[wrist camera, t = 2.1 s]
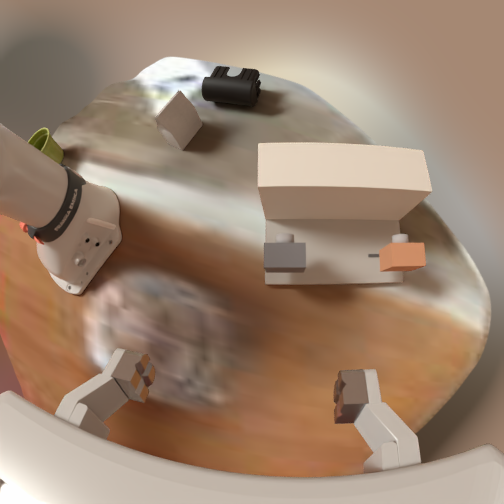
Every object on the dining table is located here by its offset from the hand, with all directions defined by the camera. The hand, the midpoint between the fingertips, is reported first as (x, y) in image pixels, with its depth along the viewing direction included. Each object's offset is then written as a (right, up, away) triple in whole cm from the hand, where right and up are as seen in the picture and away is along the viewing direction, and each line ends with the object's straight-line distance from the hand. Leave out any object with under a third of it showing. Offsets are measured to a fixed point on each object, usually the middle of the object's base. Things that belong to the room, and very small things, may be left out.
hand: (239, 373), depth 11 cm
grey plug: (+5, +4, +28) cm, 29 cm away
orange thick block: (+21, +4, +26) cm, 34 cm away
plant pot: (-49, +28, +45) cm, 72 cm away
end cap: (-3, +36, +41) cm, 55 cm away
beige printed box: (-12, +28, +41) cm, 51 cm away
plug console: (+14, +8, +33) cm, 37 cm away
